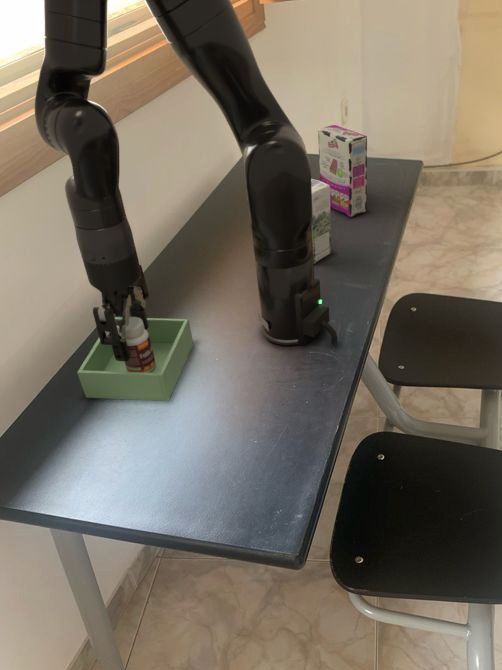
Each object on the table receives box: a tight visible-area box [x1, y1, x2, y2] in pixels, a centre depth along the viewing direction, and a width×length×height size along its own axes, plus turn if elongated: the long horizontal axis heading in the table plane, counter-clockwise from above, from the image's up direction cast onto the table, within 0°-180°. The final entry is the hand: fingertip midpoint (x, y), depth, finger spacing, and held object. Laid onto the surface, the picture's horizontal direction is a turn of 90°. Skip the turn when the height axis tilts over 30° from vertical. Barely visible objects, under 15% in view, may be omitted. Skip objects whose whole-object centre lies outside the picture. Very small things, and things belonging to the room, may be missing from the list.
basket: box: [76, 316, 194, 402], centre depth 105 cm, size 13×15×5 cm
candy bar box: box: [317, 124, 368, 218], centre depth 144 cm, size 11×5×16 cm, turn 37°
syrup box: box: [311, 178, 332, 265], centre depth 128 cm, size 6×6×14 cm
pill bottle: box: [117, 316, 156, 373], centre depth 104 cm, size 5×5×8 cm
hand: (133, 343), depth 104 cm, fingers open, 8 cm apart
